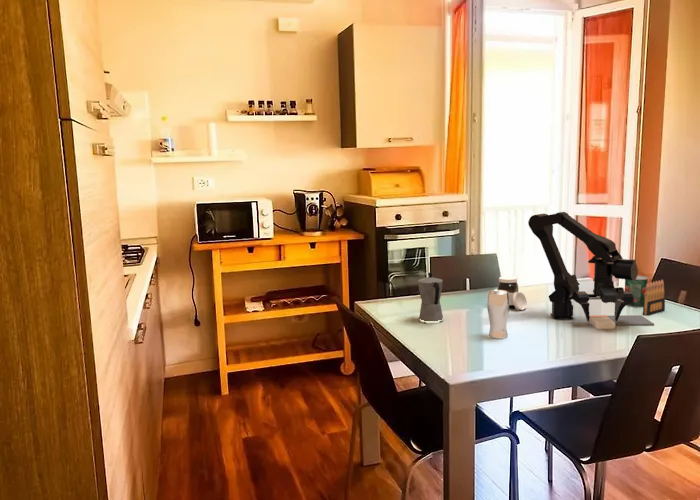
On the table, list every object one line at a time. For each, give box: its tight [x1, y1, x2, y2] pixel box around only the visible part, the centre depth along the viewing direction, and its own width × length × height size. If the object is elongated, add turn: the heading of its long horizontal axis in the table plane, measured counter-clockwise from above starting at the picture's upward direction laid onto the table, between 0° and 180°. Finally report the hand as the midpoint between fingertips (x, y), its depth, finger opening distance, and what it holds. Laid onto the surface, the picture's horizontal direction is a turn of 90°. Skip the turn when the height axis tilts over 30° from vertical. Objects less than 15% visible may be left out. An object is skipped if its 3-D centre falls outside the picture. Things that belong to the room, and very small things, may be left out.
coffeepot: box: [417, 272, 444, 321], centre depth 206 cm, size 15×9×18 cm, turn 10°
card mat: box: [606, 314, 655, 327], centre depth 198 cm, size 12×11×1 cm
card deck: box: [587, 314, 616, 330], centre depth 195 cm, size 6×9×2 cm, turn 175°
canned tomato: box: [624, 275, 649, 308], centre depth 218 cm, size 8×8×11 cm
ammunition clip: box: [642, 279, 666, 317], centre depth 206 cm, size 11×2×12 cm, turn 120°
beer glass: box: [486, 289, 510, 340], centre depth 185 cm, size 7×7×15 cm
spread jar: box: [497, 275, 528, 311], centre depth 222 cm, size 12×11×12 cm
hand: (602, 321), depth 195 cm, fingers open, 9 cm apart
